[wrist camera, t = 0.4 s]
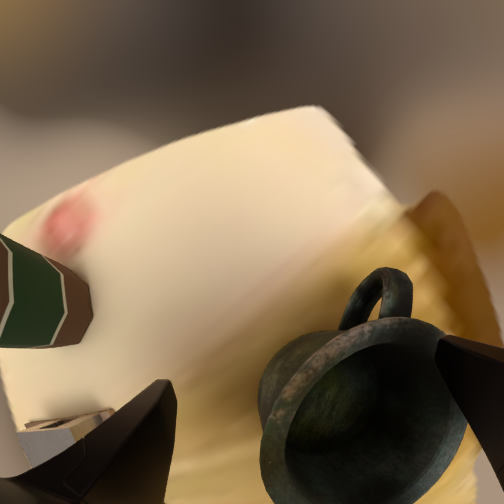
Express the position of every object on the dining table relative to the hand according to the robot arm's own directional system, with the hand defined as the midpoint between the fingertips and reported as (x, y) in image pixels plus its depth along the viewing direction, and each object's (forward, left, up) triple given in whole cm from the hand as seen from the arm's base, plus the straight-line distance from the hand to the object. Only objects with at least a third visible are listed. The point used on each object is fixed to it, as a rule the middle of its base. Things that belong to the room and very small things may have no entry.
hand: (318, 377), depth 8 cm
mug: (-4, -3, -14) cm, 15 cm away
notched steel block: (-4, +19, -14) cm, 24 cm away
